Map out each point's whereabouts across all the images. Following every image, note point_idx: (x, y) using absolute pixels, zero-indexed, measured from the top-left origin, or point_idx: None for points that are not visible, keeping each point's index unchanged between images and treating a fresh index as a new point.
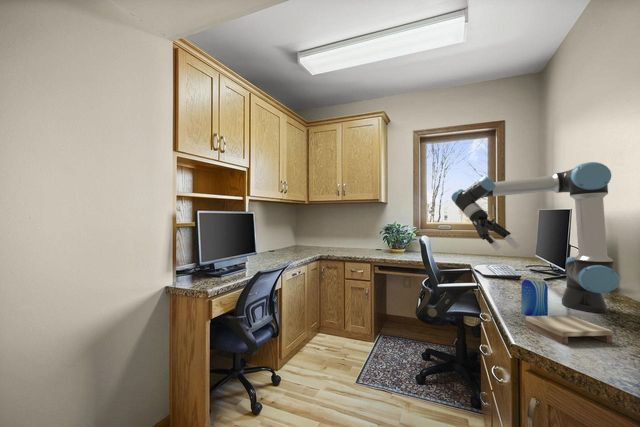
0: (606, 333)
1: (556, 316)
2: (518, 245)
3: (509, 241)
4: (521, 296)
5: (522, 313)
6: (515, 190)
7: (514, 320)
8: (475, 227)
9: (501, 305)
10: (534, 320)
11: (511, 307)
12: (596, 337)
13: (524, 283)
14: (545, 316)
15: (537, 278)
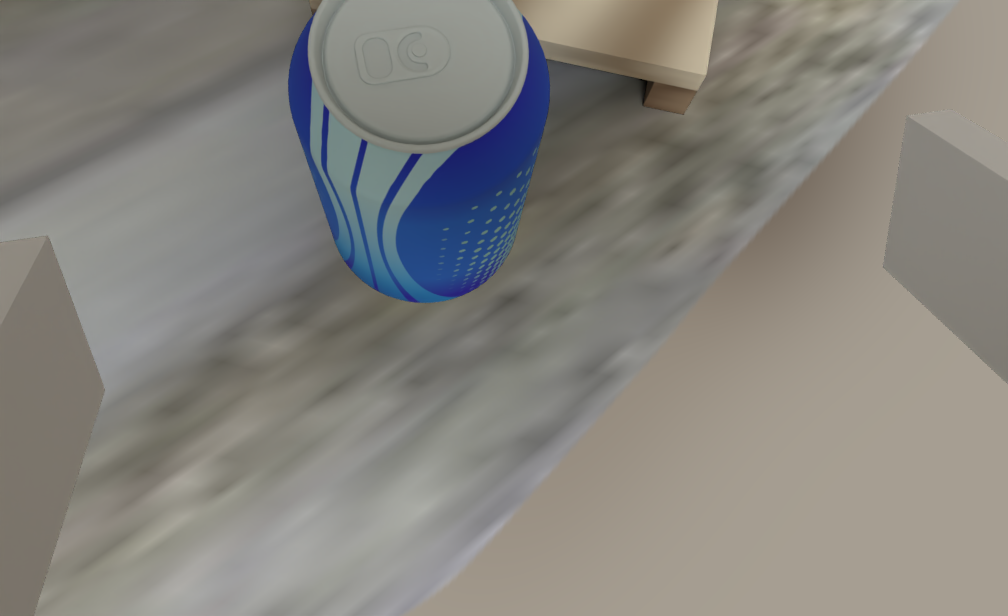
0: None
1: None
2: (49, 244)
3: (14, 522)
4: (496, 231)
5: (507, 254)
6: None
7: (642, 234)
8: None
9: (365, 591)
10: (715, 4)
11: (322, 508)
12: None
13: (540, 112)
14: (545, 28)
15: (317, 69)
